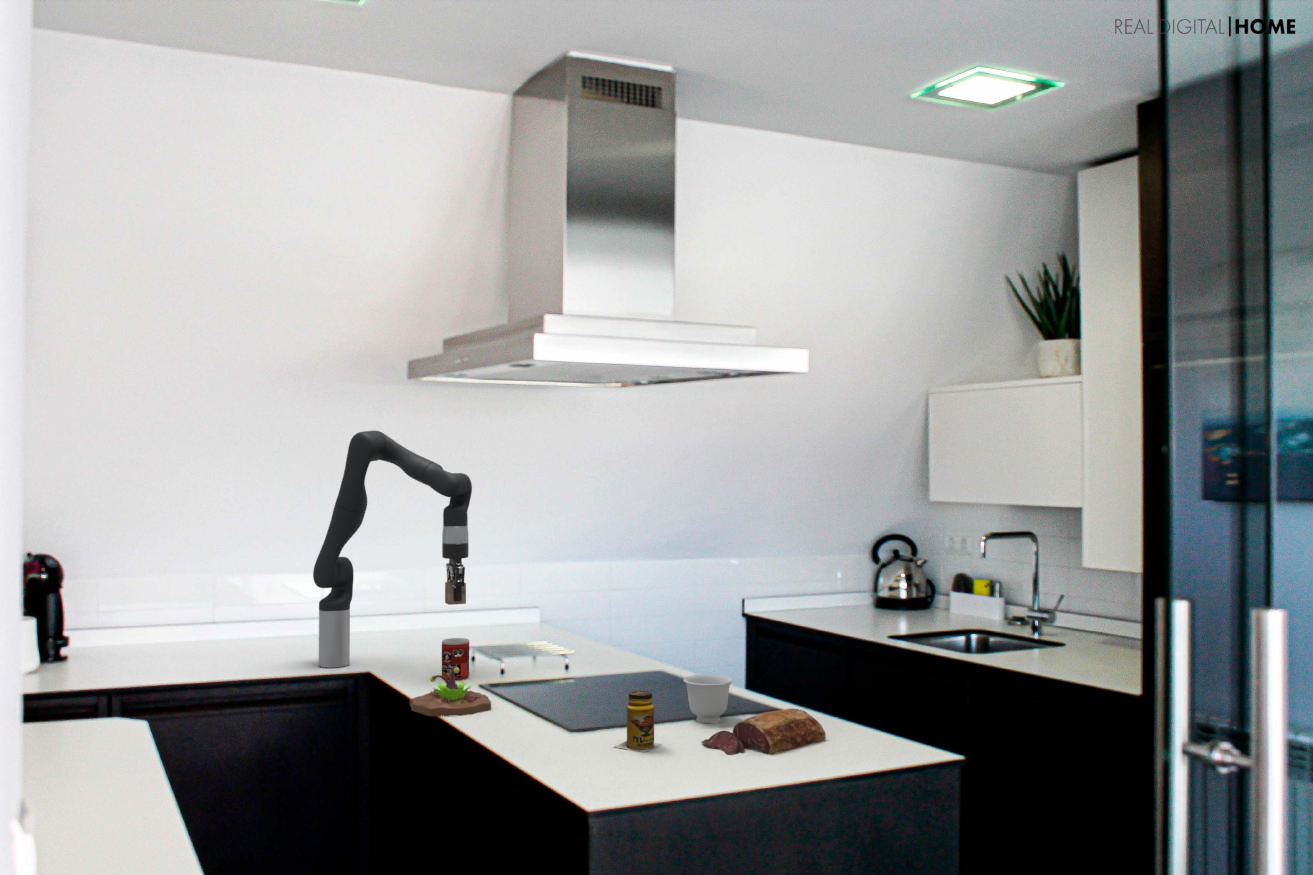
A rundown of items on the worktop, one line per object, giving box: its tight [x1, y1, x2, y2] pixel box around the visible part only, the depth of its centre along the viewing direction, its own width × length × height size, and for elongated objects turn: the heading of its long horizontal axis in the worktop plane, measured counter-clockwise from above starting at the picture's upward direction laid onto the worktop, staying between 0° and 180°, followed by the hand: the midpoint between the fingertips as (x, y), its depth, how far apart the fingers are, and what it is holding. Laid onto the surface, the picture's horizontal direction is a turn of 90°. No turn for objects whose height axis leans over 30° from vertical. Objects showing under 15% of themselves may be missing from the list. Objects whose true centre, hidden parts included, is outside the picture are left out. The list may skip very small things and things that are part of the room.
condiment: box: [613, 690, 662, 753], centre depth 244 cm, size 7×8×12 cm
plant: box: [409, 666, 492, 717], centre depth 282 cm, size 20×20×11 cm
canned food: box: [441, 637, 470, 681], centre depth 320 cm, size 8×8×11 cm
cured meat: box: [700, 708, 827, 756], centre depth 246 cm, size 18×25×7 cm
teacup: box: [683, 674, 733, 724], centre depth 269 cm, size 12×15×10 cm
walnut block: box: [444, 581, 467, 606], centre depth 320 cm, size 5×5×6 cm
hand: (455, 599), depth 320 cm, fingers closed on walnut block, 5 cm apart
